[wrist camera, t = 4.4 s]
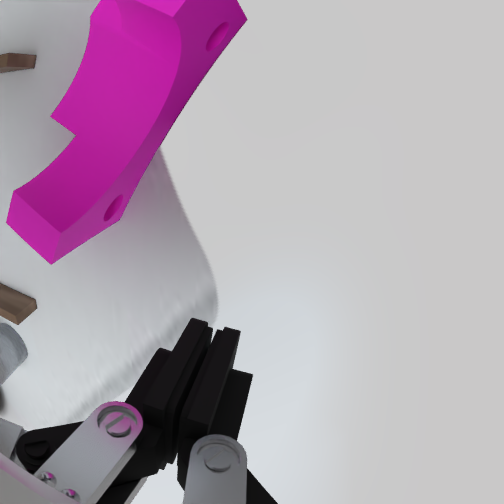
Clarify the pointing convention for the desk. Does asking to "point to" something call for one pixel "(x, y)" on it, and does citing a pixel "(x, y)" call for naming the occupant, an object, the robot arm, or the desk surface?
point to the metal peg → (10, 351)
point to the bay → (3, 298)
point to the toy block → (120, 114)
